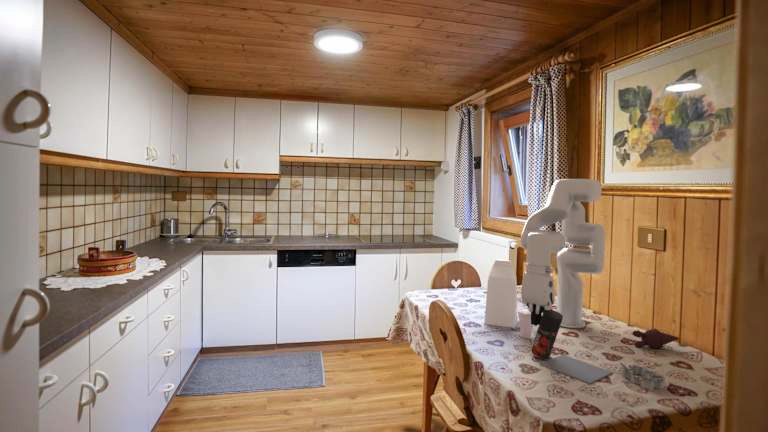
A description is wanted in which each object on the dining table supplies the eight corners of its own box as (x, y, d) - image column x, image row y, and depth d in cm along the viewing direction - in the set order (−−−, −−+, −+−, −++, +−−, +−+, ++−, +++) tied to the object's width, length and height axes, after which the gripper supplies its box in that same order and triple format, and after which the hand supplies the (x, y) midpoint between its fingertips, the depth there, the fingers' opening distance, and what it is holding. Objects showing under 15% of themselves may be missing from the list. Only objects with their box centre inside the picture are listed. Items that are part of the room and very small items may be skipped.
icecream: (671, 327, 149) (627, 328, 151) (682, 328, 142) (636, 329, 144) (674, 347, 148) (630, 348, 149) (686, 349, 140) (640, 350, 142)
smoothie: (536, 340, 150) (537, 302, 150) (517, 339, 152) (519, 301, 151) (533, 334, 157) (534, 298, 156) (515, 333, 158) (517, 297, 157)
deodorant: (553, 357, 135) (566, 317, 131) (541, 360, 132) (555, 320, 128) (538, 347, 140) (551, 308, 136) (527, 350, 136) (539, 310, 132)
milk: (484, 323, 169) (486, 261, 168) (488, 316, 180) (490, 257, 178) (514, 327, 164) (517, 263, 163) (517, 319, 175) (519, 259, 174)
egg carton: (616, 374, 123) (617, 361, 123) (638, 373, 125) (639, 360, 125) (645, 391, 113) (646, 376, 113) (668, 389, 114) (669, 375, 114)
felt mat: (562, 355, 137) (563, 354, 137) (612, 373, 124) (612, 372, 124) (539, 364, 129) (539, 363, 129) (589, 384, 116) (590, 382, 116)
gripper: (565, 272, 132) (563, 328, 133) (525, 265, 144) (523, 316, 145) (552, 274, 128) (549, 332, 128) (512, 267, 140) (510, 320, 141)
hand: (535, 324), depth 137 cm, fingers closed
